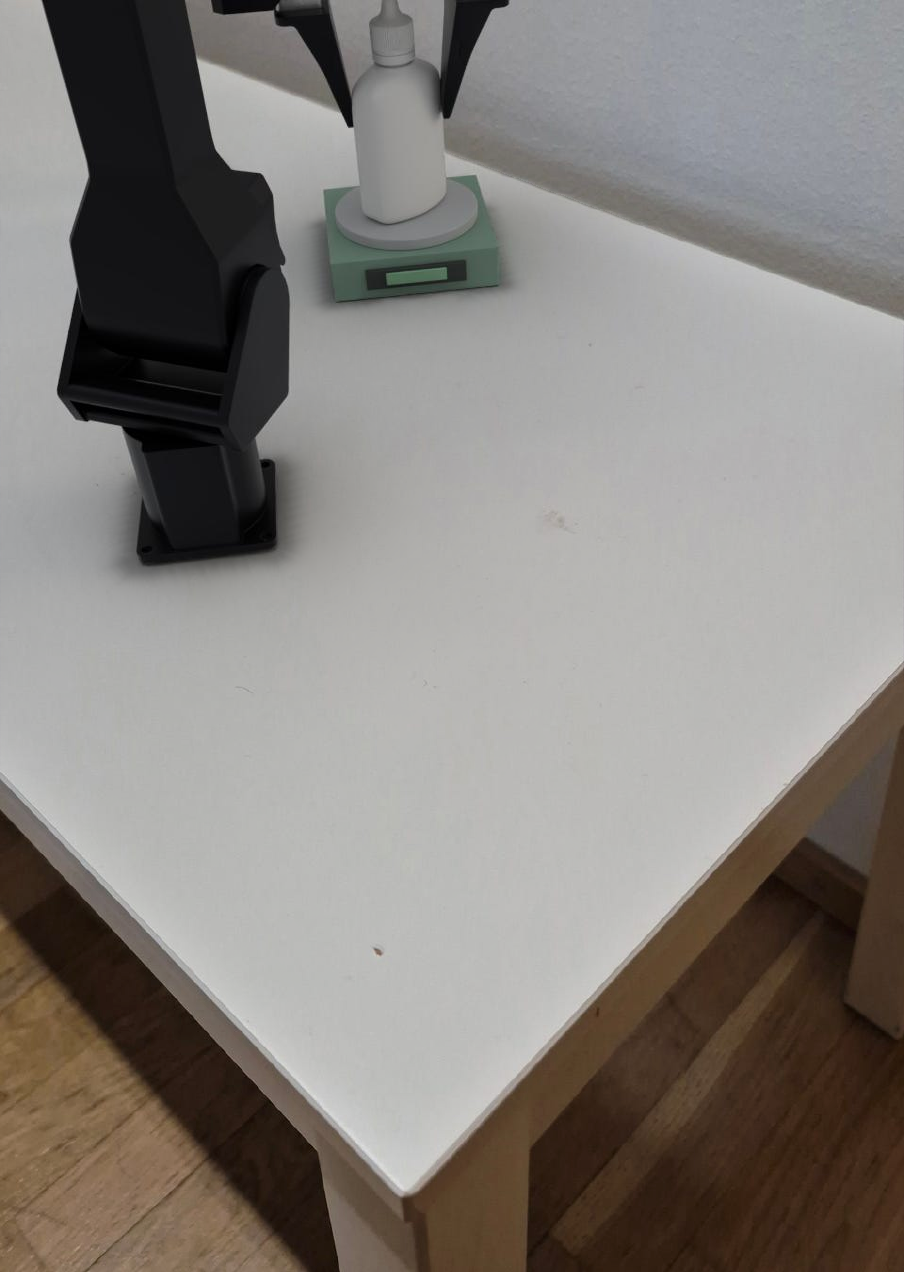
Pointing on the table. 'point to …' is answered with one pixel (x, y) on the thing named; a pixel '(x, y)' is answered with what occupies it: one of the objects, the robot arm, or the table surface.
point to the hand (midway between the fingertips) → (398, 120)
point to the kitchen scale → (411, 245)
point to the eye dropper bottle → (398, 124)
